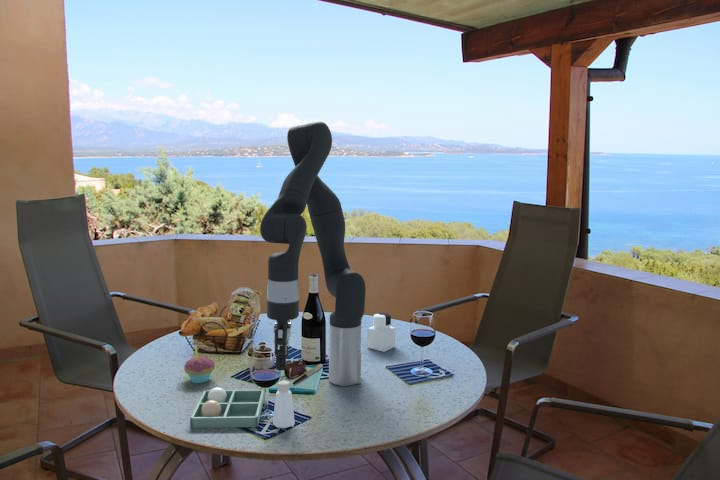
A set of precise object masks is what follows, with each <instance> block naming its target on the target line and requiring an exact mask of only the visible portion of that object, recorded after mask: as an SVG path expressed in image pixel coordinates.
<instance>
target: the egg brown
mask: <svg viewBox="0 0 720 480" xmlns="http://www.w3.org/2000/svg"><path fill="white" fill-rule="evenodd" d="M201 414H202V416H203V417H219V416H220V414H221V405H220V404H219V403H218V402H217V401H215V400H209V401H207V402H205V403H204V404H203V406H202V408H201Z"/></svg>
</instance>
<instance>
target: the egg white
mask: <svg viewBox="0 0 720 480" xmlns="http://www.w3.org/2000/svg"><path fill="white" fill-rule="evenodd" d="M209 390H210V392H209V393H208V401H209V400H215V401H217V402H218V403H224V402H225V401H226V398H227V394H226V392H225V390H226V389H224V388H222V387H220V386H218V387H217V386H216V387H214V388H211V389H209Z"/></svg>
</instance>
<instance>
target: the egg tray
mask: <svg viewBox="0 0 720 480" xmlns="http://www.w3.org/2000/svg"><path fill="white" fill-rule="evenodd" d="M210 390H211V389H208V390H207V389H206V390H203V392H202V394H201V397H200V398H199V400H198V403H197V404H196V406H195V408H194V410H193V412H192V415H191V416H190V418H189V420H190V429H204V428H205V429H207V428H209V429H210V428H211V429H212V428H214V429H215V428H216V429H218V428H258V427H259V423H260V419H261V415H262V410H263V407H264V402H265V389H224V390H225V392H226V394H227V398H226V401H225V402H224V403H219V404H220V405H221V414H220V416H219V417H203V416H202V414H201V408H202V406H203V404H204V403H205V402H207V401H208V393H209V392H210Z"/></svg>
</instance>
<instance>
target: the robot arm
mask: <svg viewBox="0 0 720 480" xmlns="http://www.w3.org/2000/svg"><path fill="white" fill-rule="evenodd" d="M331 132H332V131H331V130H330V128H329V126H328V124H327V123H325V122H323V121H312V122H308V123H307V122H306V123H303V124H300V125H299V124H298V125H295V126H291V127H290V128H288V131H287V136H286V137H287V145H288V148H289V149H288V150H289V153H290V156H291V159H292V161H293V164H294V166H295V167H294V168H293V169H292V170H291V171H290V172H289V173H288V174H287V176H286V177H285V179H284V181H283V183H282V185H281V188H280V191H279V194H278V197H277V199H275V201H274V202H273V204H272V205H271V206H270V207H269V209H268V210H267V211H266V212H265V213H264V215H263V217H262V220H261V222H260V225H259V226H260V227H259V232H260V236H261V238H262V239H263V240H264V242H267V243H269V244H270V243H271V244H285V245H288V249H287V250H286V251H282V252H276V253H272V254H271V255H269V257H268V261H267V271H268V272H267V286H266V317H267V318H268V319H270V320H273V321H276V322H274V326H273V334H274V335H273V344H274V351H273V353H274V355H275V369H276V371H285V370H286V369H287V368H286V367H287V357H289V345H290V337H291V334H292V326H293V325H292V322H290V321H292V320H295V319H297V318H298V317H299V315H300V312H299V311H300V308H299V307H300V285H299V263H300V261H299V260H300V255H301V252H302V248H303V243H304V240H305V238H306V234H307V231H308V230H307V228H308V227H307V222H306V219H305V218H304V217H303V216H302V214H303V213H304V212H305V209H306V208H307V211H308V215H309V219H310V223H311V225H312V229H313V232H314V236H315V239H316V243H317V247H318V250H319V252H320V253H319V254H320V256H321V257H320V258H321V260H322V267H323V273H324V281H325V285H326V286H325V287H326V289H327V290H328V292H329V294H330V295H331V296H333V298H335V305H334V311H333V312H331V313H330V314H329V337H328V338H329V344H328V345H329V347H328V348H329V349H328V350H329V351H328V353H329V354H328V381H329V382H330V383H331V384H333V385H336V386H340V387H341V386H343V387H348V386H354V385H357V384H358V385H359V384H361V382H362V320H363V317H364V314H365V308H366V307H365V306H366V282H365V278H364V276H362V275H361V274H360V273H359V272H356V271H354V270H352V269H351V267H350V265H349V261H348V259H347V256H346V255H347V254H346V251H345V237H346V222H345V221H346V220H345V216H344V211H343V208H342V203H341V201H340V199H339V198H338V196H337V195H336V193H334V191H333V190H332V189H331V188H330V187H329V186H328V185H327V184H326V183H325V182H324V181H323V180H322V179H321V177H320V176H319V174H320V171H321V170H322V167H323V166H324V164H325V162H326V160H327V158H328V157H329V154H330V153H331V150H332V146H333V135H332V133H331Z"/></svg>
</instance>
